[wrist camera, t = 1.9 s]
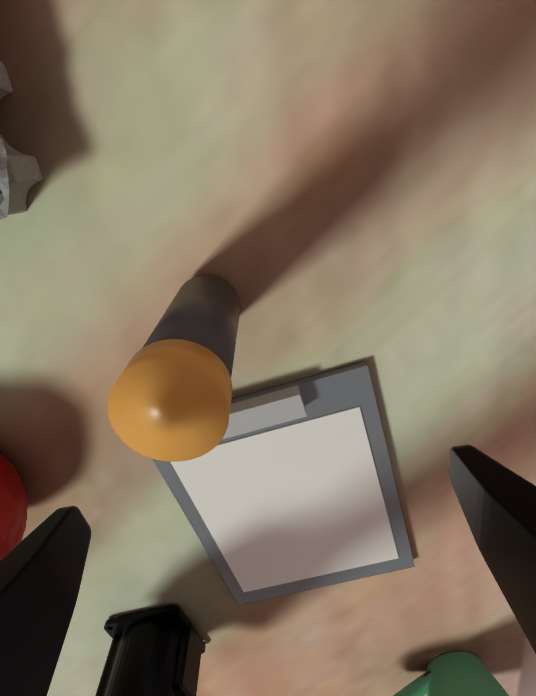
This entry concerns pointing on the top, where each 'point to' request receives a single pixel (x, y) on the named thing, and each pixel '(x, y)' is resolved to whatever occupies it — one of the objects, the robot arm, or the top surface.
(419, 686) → the mug
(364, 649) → the top surface
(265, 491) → the whiteboard
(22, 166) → the egg carton
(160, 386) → the marker
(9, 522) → the pomegranate
